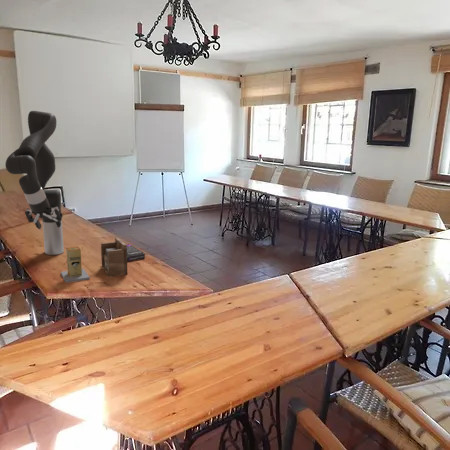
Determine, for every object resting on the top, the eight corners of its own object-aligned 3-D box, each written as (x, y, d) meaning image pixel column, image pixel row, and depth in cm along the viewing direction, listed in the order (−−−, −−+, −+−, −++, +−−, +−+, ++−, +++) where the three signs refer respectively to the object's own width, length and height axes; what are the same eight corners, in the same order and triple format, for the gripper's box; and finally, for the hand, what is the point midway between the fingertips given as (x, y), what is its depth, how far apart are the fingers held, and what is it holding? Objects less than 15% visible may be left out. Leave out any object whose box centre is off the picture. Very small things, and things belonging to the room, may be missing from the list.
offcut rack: (101, 267, 191) (100, 239, 188) (118, 264, 195) (117, 237, 192) (109, 276, 179) (108, 247, 176) (127, 274, 183) (126, 245, 180)
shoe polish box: (81, 275, 177) (80, 249, 175) (70, 277, 175) (68, 251, 172) (79, 271, 181) (77, 246, 179) (67, 273, 179) (66, 248, 176)
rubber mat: (61, 273, 181) (60, 271, 181) (83, 270, 186) (83, 268, 186) (65, 282, 171) (65, 280, 171) (89, 279, 176) (89, 277, 176)
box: (105, 254, 213) (119, 264, 198) (104, 248, 212) (119, 257, 197) (129, 250, 221) (145, 258, 206) (129, 244, 220) (145, 252, 205)
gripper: (55, 191, 169) (67, 220, 180) (22, 194, 169) (36, 222, 180) (50, 202, 164) (63, 231, 174) (16, 205, 164) (31, 234, 174)
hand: (49, 227), depth 177 cm, fingers open, 8 cm apart
